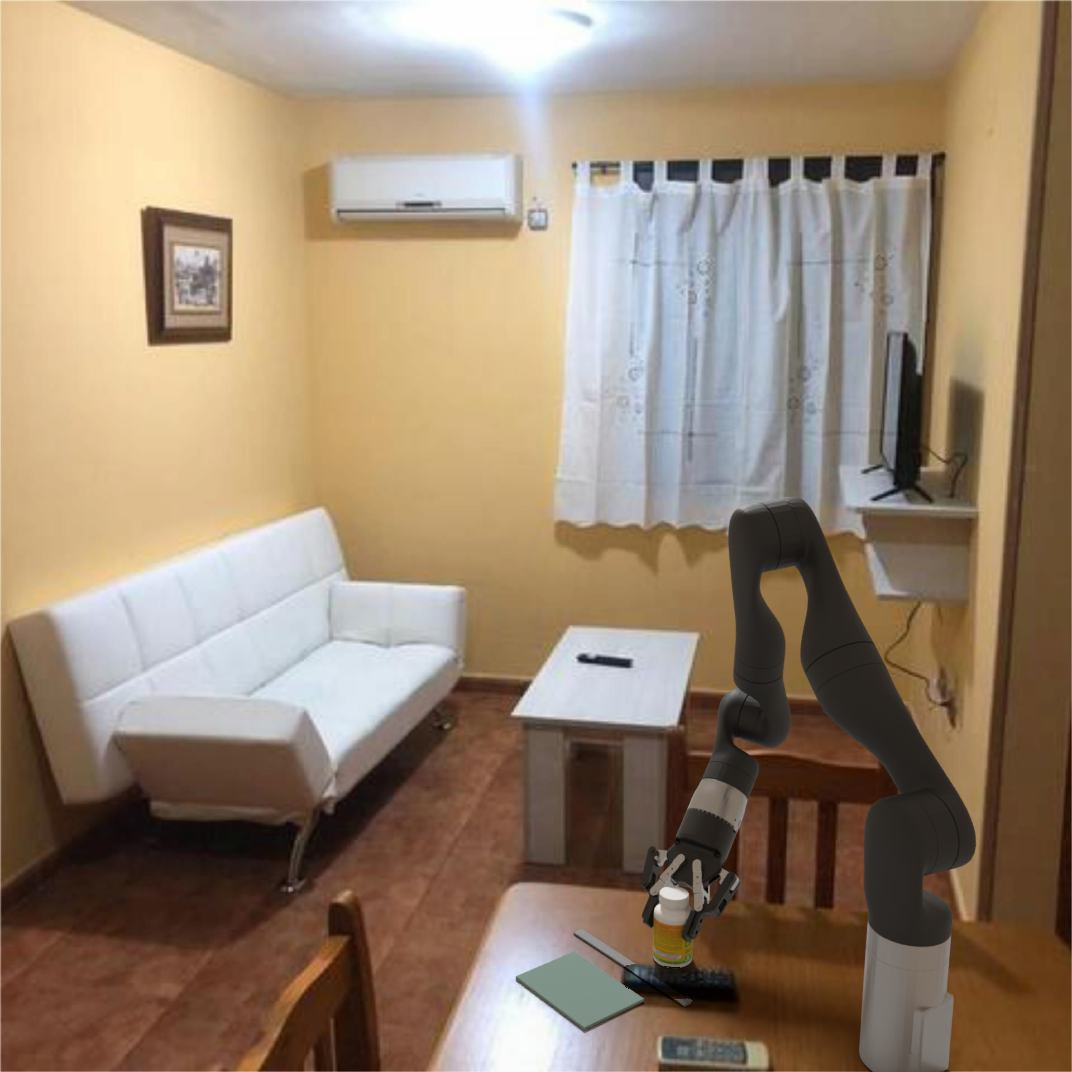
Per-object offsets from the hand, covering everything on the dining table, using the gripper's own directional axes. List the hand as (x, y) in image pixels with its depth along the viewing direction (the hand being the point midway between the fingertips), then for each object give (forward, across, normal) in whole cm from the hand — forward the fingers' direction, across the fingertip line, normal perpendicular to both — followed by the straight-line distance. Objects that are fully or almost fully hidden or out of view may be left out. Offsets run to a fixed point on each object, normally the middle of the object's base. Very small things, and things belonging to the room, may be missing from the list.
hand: (666, 932), depth 156 cm
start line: (+6, -4, +1) cm, 7 cm away
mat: (+12, -6, -5) cm, 14 cm away
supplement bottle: (+2, 0, +5) cm, 5 cm away
